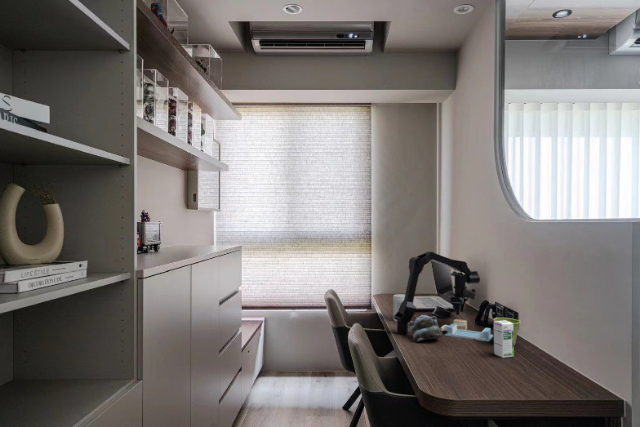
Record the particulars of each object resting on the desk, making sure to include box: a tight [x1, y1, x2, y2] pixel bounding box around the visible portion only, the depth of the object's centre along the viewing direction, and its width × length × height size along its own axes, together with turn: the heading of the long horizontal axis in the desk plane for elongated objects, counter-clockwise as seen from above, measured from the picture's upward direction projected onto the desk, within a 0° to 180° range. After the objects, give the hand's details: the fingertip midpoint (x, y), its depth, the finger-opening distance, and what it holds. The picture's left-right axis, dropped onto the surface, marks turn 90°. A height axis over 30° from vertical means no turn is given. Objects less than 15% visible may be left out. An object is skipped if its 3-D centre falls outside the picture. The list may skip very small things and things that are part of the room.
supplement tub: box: [392, 293, 405, 323], centre depth 246 cm, size 10×10×15 cm
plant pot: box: [493, 317, 522, 346], centre depth 199 cm, size 12×12×11 cm
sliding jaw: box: [440, 323, 457, 334], centre depth 219 cm, size 9×6×4 cm
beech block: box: [453, 318, 468, 330], centre depth 225 cm, size 4×6×5 cm, turn 59°
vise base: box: [444, 327, 494, 342], centre depth 213 cm, size 12×21×4 cm, turn 59°
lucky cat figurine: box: [408, 313, 443, 343], centre depth 206 cm, size 15×12×14 cm
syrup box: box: [493, 320, 515, 359], centre depth 182 cm, size 6×6×14 cm
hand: (460, 313), depth 226 cm, fingers open, 9 cm apart
